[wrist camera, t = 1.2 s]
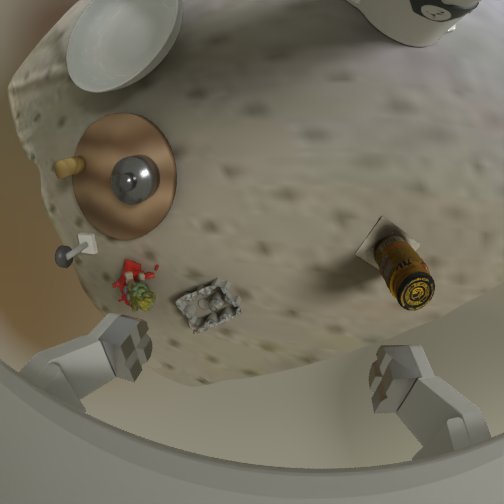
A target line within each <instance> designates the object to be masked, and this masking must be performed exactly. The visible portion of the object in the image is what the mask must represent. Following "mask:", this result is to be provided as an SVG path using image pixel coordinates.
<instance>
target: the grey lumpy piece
mask: <svg viewBox="0 0 504 504" xmlns="http://www.w3.org/2000/svg"><path fill="white" fill-rule="evenodd" d="M230 286H231V284H230V283H229V281H222V280H220V279H219V278H216V279H214V281H213V282H212V284H211V286H207V287H205V286H204V285H201V286H199V287H198V289H197V291H195V292H193V293H189V292H186V293H184V295H183V297H181V298H179V299H178V300H177V301H176V305H177V307H178V309H180V310H181V311H182V314H183V315H186V316H187V317H188V319H189V320H188V323H189V325H190V327H191V328H192V330H193V331H194V332H193V334H196V333H200V332H204V331H206V330H208V329H209V328H211V327H215V326H217V325H219V324H222V323H225V322H228V321H229V320H231V319H233V318H234V317H236V316H237V315H240V314H242V313H241V309H240V307H239V305H240V303H241V299H240V297H239V296H232V295H230V294H229V288H230ZM216 287H220V288H221V290H222V292H223V293H224V294H225V295H224V294H222V293H220V292H216V293H214V294H213V296H212V297H211V299H210V301H208V300H206V299H200V300H199V301H198V304H199V306H200V307H201V308H203V309H208V308H209V307H210V310H211V311H212V312H215V311H217V310H219V309H221V308H222V306H223V304H224V302H225V301H226V303H228V302H229V303H230V304H233V305H234V307H236V306H238V307H237V309H235V310H234V309H233V308H232V307H225V308H224V309H223V311H222V313H221V315H218V314H217V313H210V314H209V316H208V318H207V320H204V319H202V318H197V317H196V316H195V313H196V308H195V307H194V306H192V305H187V304H186V303H185V302H184V300H188V301H189V302H190V301H193V300H194V301H195V299H196V297H197V295H198V294H202V296H205V295H206V296H208V295H210V294H211V291H212V289H213V290H214V289H215V288H216Z"/></svg>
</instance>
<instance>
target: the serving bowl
mask: <svg viewBox="0 0 504 504" xmlns="http://www.w3.org/2000/svg"><path fill="white" fill-rule="evenodd" d="M182 18H183V9H182V3H181V0H92V1H91V2H90V4H89V5H88V6H87V7H86V8H85V10H84V11H83V12H82V14H81V15H80V17H79V18H78V20H77V22H76V24H75V26H74V28H73V30H72V33H71V35H70V38H69V42H68V46H67V53H66V63H67V69H68V73H69V75H70V77H71V79H72V81H73V82H74V83H75V84H76V85H77V86H78V87H79V88H81V89H83V90H85V91H88V92H95V93H100V92H109V91H114V90H118V89H121V88H124V87H127V86H129V85H131V84H133V83H135V82H137V81H138V80H140V79H142V78H143V77H145V76H146V75H147V74H149V73H150V72H151V71H152V70H153V69H154V68H155V67H156V66H158V65H159V64H160V62H161V61H162V60H163V59H164V58H165V57H166V55H167V54H168V53H169V51H170V50H171V48H172V46H173V45H174V43H175V41H176V39H177V37H178V34H179V32H180V28H181V24H182Z"/></svg>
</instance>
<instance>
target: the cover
mask: <svg viewBox="0 0 504 504" xmlns="http://www.w3.org/2000/svg"><path fill="white" fill-rule="evenodd" d="M159 184H160V172H159V169H158V166H157V165H156V163H155V162H154V161H153V160H152V159H151V158H150V157H148V156H146V155H134V156H129V157H125V158H122V159H121V160H119V161H118V162H117V163H116V164H115V166H114V168H113V170H112V174H111V185H112V189H113V191H114V193H115V195H116V196H117V198H118V199H119V200H120V201H122V202H123V203H125V204H129V205H135V204H138V203H140V202H142V201H144V200H146V199H148V198H150V197H152V196H153V195H154V194H155V193H156V191H157V190H158V187H159Z"/></svg>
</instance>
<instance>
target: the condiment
mask: <svg viewBox="0 0 504 504" xmlns="http://www.w3.org/2000/svg"><path fill="white" fill-rule="evenodd" d="M419 246H420V244H419V243H417V242H416V241H415V240H414V239H412V238H411V237H410V236H409V235H407V234H406V233H405V232H403V231H402V230H401V229H399V228H398V227H397V226H396V225H394V224H393V223H392V222H390V221H389V220H388V219H386V218H385V217H383V216H382V218H381V219H380V220H379V221H378V223H377V224H376V226H375V227H374V228H373V230H372V231H371V232H370V234H369V235H368V237H367V238H366V239H365V241H364V242H363V244H362V245H361V246H360V248H359V249H358V251H357V252H356V253H355V255H357V256H358V257H360V258H362V259H363V260H364V261H366V262H368V263H369V264H371V265H372V266H374V267H375V268H377V269H378V270H380V272H381V275H382V276H383V278H384V280H385V282H386V284H387V287H388V288H389V290H390V292H391V293H392V295H393V296H394V297H395V298H396V299H397V300H398V302H399V304H400V306H402V307H403V308H404V309H407V310H418V309H420V308H422V307H424V306H425V305H426V304H427V303H428V302H429V301H430V300H431V299H432V296H433V295H434V290H435V284H434V280H433V278H432V277H431V276H430V273H429V269H428V267H427V265H426V264H425V263H424V261H423V260H422V259H421V258H420V257H419V255H418V254H417V253H416V252H415V251H416V250H417V249H418V247H419ZM372 248H373V250H372ZM373 251H374V252H373Z"/></svg>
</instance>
